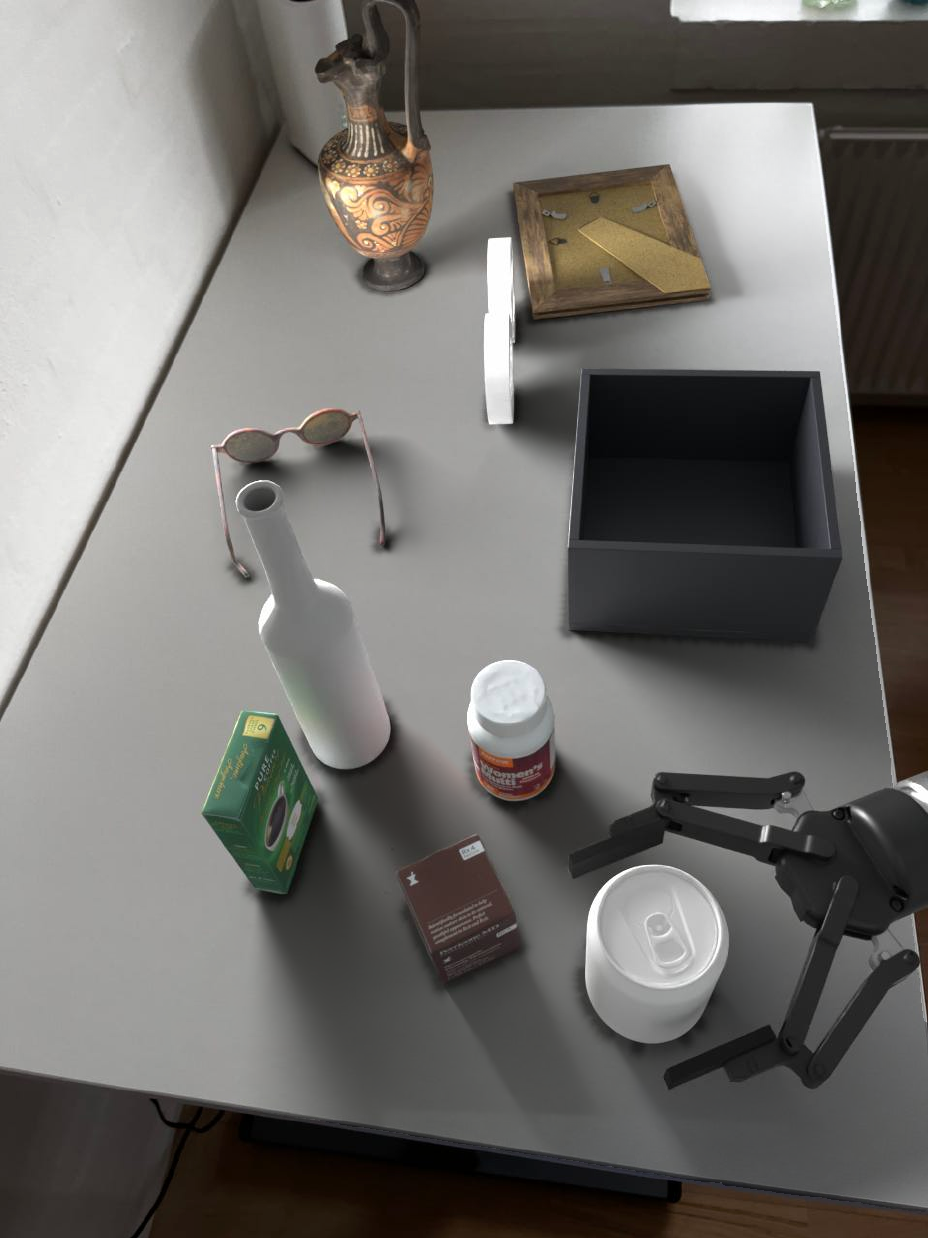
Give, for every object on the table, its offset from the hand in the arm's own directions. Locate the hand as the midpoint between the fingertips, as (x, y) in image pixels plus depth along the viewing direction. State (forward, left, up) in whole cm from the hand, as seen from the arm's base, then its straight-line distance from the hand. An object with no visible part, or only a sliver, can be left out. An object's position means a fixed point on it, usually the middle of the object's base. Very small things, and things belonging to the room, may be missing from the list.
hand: (615, 967), depth 60 cm
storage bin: (+32, -22, -7) cm, 40 cm away
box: (+8, +8, -7) cm, 13 cm away
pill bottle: (+18, 0, -7) cm, 19 cm away
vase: (+80, -11, -7) cm, 81 cm away
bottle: (+26, +11, -7) cm, 29 cm away
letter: (+60, -16, -7) cm, 63 cm away
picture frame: (+74, -34, -7) cm, 82 cm away
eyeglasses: (+51, +8, -7) cm, 52 cm away
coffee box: (+19, +18, -7) cm, 27 cm away
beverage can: (0, -2, -7) cm, 7 cm away
